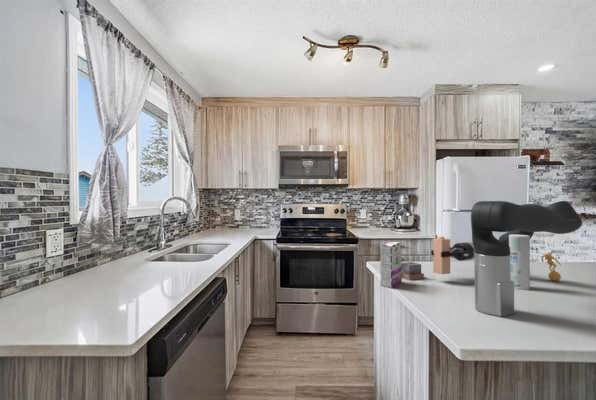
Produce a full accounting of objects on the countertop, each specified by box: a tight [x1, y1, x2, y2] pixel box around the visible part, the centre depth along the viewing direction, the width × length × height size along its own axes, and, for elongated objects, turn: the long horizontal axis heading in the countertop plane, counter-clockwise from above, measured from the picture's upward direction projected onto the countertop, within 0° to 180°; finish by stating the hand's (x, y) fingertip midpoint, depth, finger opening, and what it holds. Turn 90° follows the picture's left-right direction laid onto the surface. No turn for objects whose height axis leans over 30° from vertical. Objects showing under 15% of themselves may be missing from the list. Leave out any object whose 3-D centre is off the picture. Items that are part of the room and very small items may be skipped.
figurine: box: [540, 251, 562, 282], centre depth 127 cm, size 8×6×12 cm
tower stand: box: [401, 261, 425, 281], centre depth 134 cm, size 8×8×6 cm
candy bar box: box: [379, 241, 403, 289], centre depth 123 cm, size 11×5×16 cm, turn 143°
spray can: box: [509, 235, 531, 291], centre depth 117 cm, size 6×6×20 cm
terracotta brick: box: [432, 236, 451, 275], centre depth 127 cm, size 4×4×15 cm
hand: (436, 253), depth 126 cm, fingers closed on terracotta brick, 4 cm apart
